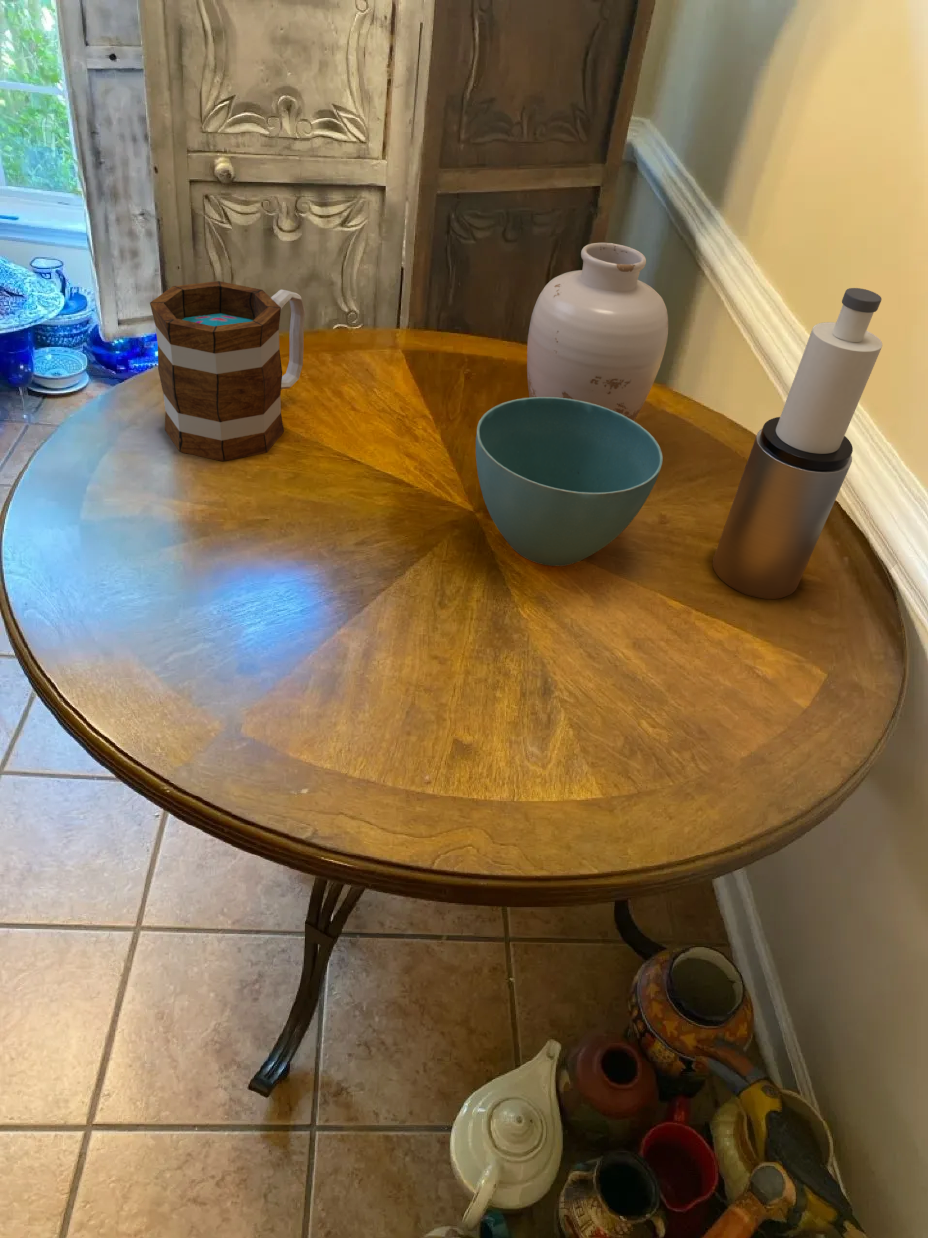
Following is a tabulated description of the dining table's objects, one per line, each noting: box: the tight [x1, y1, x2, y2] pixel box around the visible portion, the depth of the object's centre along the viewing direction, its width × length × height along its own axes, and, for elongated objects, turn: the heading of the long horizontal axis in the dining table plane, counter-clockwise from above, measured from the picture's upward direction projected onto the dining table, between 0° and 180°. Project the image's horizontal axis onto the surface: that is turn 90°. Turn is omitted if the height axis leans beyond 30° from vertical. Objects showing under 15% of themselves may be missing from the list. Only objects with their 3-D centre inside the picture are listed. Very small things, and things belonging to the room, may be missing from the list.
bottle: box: [776, 287, 883, 454], centre depth 82 cm, size 6×6×14 cm
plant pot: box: [475, 397, 664, 567], centre depth 93 cm, size 18×18×12 cm
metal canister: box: [712, 416, 854, 600], centre depth 91 cm, size 9×9×16 cm
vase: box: [526, 242, 669, 421], centre depth 107 cm, size 16×16×23 cm
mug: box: [149, 280, 306, 462], centre depth 104 cm, size 20×14×15 cm
